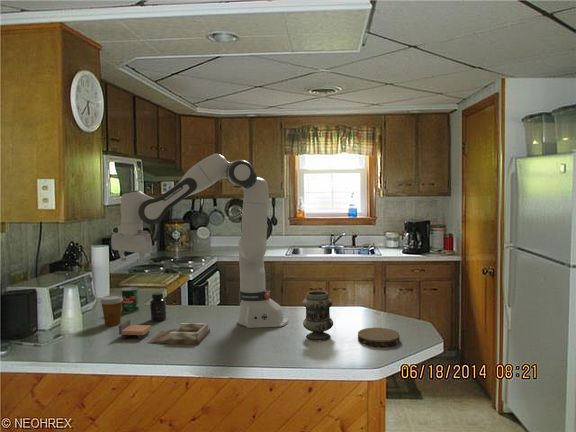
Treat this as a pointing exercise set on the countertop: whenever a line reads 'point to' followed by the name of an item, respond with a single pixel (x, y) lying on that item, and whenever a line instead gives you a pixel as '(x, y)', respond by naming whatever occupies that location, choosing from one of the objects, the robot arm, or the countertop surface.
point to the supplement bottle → (158, 307)
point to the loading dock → (183, 334)
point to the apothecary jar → (317, 315)
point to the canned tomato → (130, 299)
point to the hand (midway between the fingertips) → (131, 262)
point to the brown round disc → (378, 337)
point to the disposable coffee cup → (112, 309)
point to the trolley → (133, 330)
